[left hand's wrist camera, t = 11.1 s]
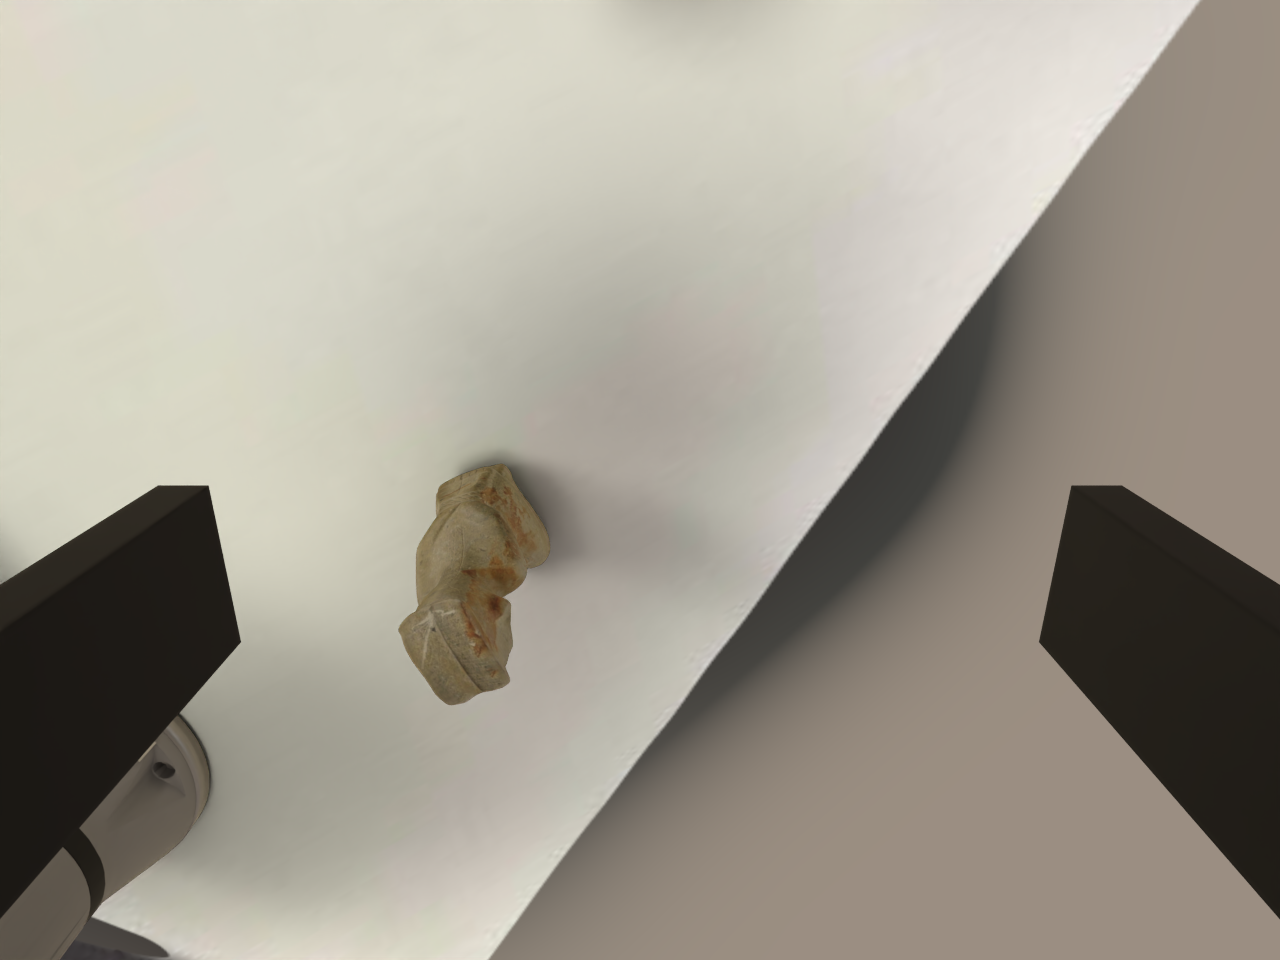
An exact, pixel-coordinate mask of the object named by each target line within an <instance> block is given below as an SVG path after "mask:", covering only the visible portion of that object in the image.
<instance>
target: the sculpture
mask: <svg viewBox="0 0 1280 960" xmlns="http://www.w3.org/2000/svg"><path fill="white" fill-rule="evenodd" d="M436 515H437V518H436V519H435V520H434V521H433V523H432V524H431V526H430V528H429V529H428V531H427V532H426V534H425V535H424V537H423V539H422V540H421V542H420V543H419V546H418V548H417V553H416V589H417V600H418V604H419V606H418V608H417V610H416V612H414V613H412V614H410V615H409V616H408V617H407V618H406V619H405V620H404V621H403V622H402V624H401V625H400V627H399V633H400V634H401V637H402V640H403V644H404V646H405V649H406V651H407V653H408V655H409V656H410V658H411V660H412V662H413V663H414V664H415V666H416V667H417V668H418V670H419V671H420V672H421V674H422V675H423V676H424V678H425V679H426V680H427V682H428V684H429V685H430V687H431V688H432V690H433V691H434V693H435V694H436V695H437V696H438V697H439V698H440V699H441V700H442V701H443V702H445V703H446V704H448V705H456V704H461V703H465V702H467V701H468V700H470V699H471V698H473V697H474V696H475V695H477V694H479V693H482V692H487V691H492V690H496V689H499V688H502V687H504V686H505V685H507V684H508V683H509V682H510V677H509V675H508V673H507V670H506V667H505V666H506V664H507V661H508V657H509V653H510V651H511V649H512V647H513V639H512V633H511V625H510V622H511V604H510V602H509V601H508V600H506V599H504V598H502V597H504V596H506V595H507V594H509V593H511V592H512V591H514V590H515V589H517V588H518V587H519V586H520V585H521V584H522V583H523V581H524V580H525V577H526V574H527V568H533V567H536V566H539V565H541V564H542V563H544V561H545V560H546V559H547V557H548V555H549V552H550V542H549V537H548V534H547V531H546V529H545V527H544V525H543V523H542V522H541V520H540V518H539V517H538V515H537V514H536V512H535V511H534V509H533V508H532V507H531V505H530V504H529V502H528V501H527V500H526V498H525V497H524V496H523V494H522V493H521V492H520V490H519V489H518V487H517V486H516V484H515V482H514V480H513V478H512V474H511V472H510V470H509V469H508V468H507V467H506V466H505V465H504V464H497V465H493V466H490V467H482V468H479V469H476V470H473V471H470V472H467V473H464V474H462V475H459V476H457V477H455V478H453V479H451V480H449V481H447V482H445V483H444V484H442V485H441V486H440V487H439V489H438V493H437V495H436Z"/></svg>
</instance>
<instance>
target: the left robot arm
mask: <svg viewBox="0 0 1280 960" xmlns="http://www.w3.org/2000/svg"><path fill="white" fill-rule="evenodd" d="M1039 642H1040V644H1041V645H1042V646H1043V647H1044V648H1045V649H1046V651H1047V652H1048V653H1049V654H1050V655H1051V656H1052V657H1053V659H1054V660H1055V661H1056V662H1057V663H1058V664H1059V666H1060V667H1061V668H1062V669H1063V670H1064V671H1065V672H1066V674H1067V675H1068V676H1069V677H1070V678H1071V679H1072V681H1073V682H1074V683H1075V684H1076V685H1077V686H1078V687H1079V689H1080V690H1081V691H1082V692H1083V693H1084V694H1085V695H1086V697H1087V698H1088V699H1089V700H1090V701H1091V702H1092V704H1093V705H1094V706H1095V707H1096V708H1097V709H1098V710H1099V712H1100V713H1101V714H1102V715H1103V716H1104V717H1105V718H1106V720H1107V721H1108V722H1109V723H1110V724H1111V725H1112V726H1113V728H1114V729H1115V730H1116V731H1117V732H1118V733H1119V735H1120V736H1121V737H1122V738H1123V739H1124V740H1125V742H1126V743H1127V744H1128V745H1129V746H1130V747H1131V748H1132V750H1133V751H1134V752H1135V753H1136V754H1137V755H1138V756H1139V758H1140V759H1141V760H1142V761H1143V762H1144V763H1145V765H1146V766H1147V767H1148V768H1149V769H1150V770H1151V771H1152V773H1153V774H1154V775H1155V776H1156V777H1157V778H1158V779H1159V781H1160V782H1161V783H1162V784H1163V785H1164V786H1165V787H1166V789H1167V790H1168V791H1169V792H1170V793H1171V794H1172V796H1173V797H1174V798H1175V799H1176V800H1177V801H1178V802H1179V804H1180V805H1181V806H1182V807H1183V808H1184V809H1185V811H1186V812H1187V813H1188V814H1189V815H1190V816H1191V817H1192V819H1193V820H1194V821H1195V822H1196V823H1197V824H1198V825H1199V827H1200V828H1201V829H1202V830H1203V831H1204V832H1205V834H1206V835H1207V836H1208V837H1209V838H1210V839H1211V840H1212V842H1213V843H1214V844H1215V845H1216V846H1217V847H1218V848H1219V850H1220V851H1221V852H1222V853H1223V854H1224V855H1225V857H1226V858H1227V859H1228V860H1229V861H1230V862H1231V863H1232V865H1233V866H1234V867H1235V868H1236V869H1237V870H1238V872H1239V873H1240V874H1241V875H1242V876H1243V877H1244V878H1245V880H1246V881H1247V882H1248V883H1249V884H1250V885H1251V886H1252V888H1253V889H1254V890H1255V891H1256V892H1257V893H1258V895H1259V896H1260V897H1261V898H1262V899H1263V900H1264V901H1265V903H1266V904H1267V905H1268V906H1269V907H1270V908H1271V910H1272V911H1273V912H1274V913H1275V914H1276V915H1277V916H1278V918H1279V919H1280V585H1279V584H1278V583H1276V582H1274V581H1273V580H1271V579H1270V578H1268V577H1266V576H1265V575H1263V574H1262V573H1260V572H1259V571H1257V570H1255V569H1254V568H1252V567H1251V566H1249V565H1247V564H1246V563H1244V562H1243V561H1241V560H1239V559H1238V558H1236V557H1235V556H1233V555H1231V554H1230V553H1228V552H1227V551H1225V550H1224V549H1222V548H1220V547H1219V546H1217V545H1216V544H1214V543H1212V542H1211V541H1209V540H1208V539H1206V538H1204V537H1203V536H1201V535H1200V534H1198V533H1196V532H1195V531H1193V530H1192V529H1190V528H1189V527H1187V526H1185V525H1184V524H1182V523H1181V522H1179V521H1177V520H1176V519H1174V518H1173V517H1171V516H1169V515H1168V514H1166V513H1165V512H1163V511H1161V510H1160V509H1158V508H1157V507H1155V506H1154V505H1152V504H1150V503H1149V502H1147V501H1146V500H1144V499H1142V498H1141V497H1139V496H1138V495H1136V494H1134V493H1133V492H1131V491H1130V490H1128V489H1126V488H1125V487H1123V486H1071V490H1070V495H1069V500H1068V505H1067V510H1066V515H1065V519H1064V524H1063V529H1062V534H1061V539H1060V544H1059V548H1058V553H1057V558H1056V563H1055V568H1054V572H1053V577H1052V582H1051V587H1050V592H1049V597H1048V601H1047V606H1046V611H1045V616H1044V621H1043V626H1042V631H1041V635H1040V640H1039ZM240 643H241V640H240V635H239V630H238V626H237V621H236V616H235V611H234V606H233V601H232V597H231V592H230V587H229V582H228V577H227V572H226V568H225V563H224V558H223V553H222V548H221V544H220V539H219V534H218V529H217V524H216V519H215V515H214V510H213V505H212V500H211V495H210V490H209V486H157V487H155V488H154V489H152V490H150V491H149V492H147V493H146V494H144V495H142V496H141V497H139V498H138V499H136V500H134V501H133V502H131V503H130V504H128V505H126V506H125V507H123V508H122V509H120V510H119V511H117V512H115V513H114V514H112V515H111V516H109V517H107V518H106V519H104V520H103V521H101V522H99V523H98V524H96V525H95V526H93V527H91V528H90V529H88V530H87V531H85V532H84V533H82V534H80V535H79V536H77V537H76V538H74V539H72V540H71V541H69V542H68V543H66V544H64V545H63V546H61V547H60V548H58V549H56V550H55V551H53V552H52V553H50V554H49V555H47V556H45V557H44V558H42V559H41V560H39V561H37V562H36V563H34V564H33V565H31V566H29V567H28V568H26V569H25V570H23V571H21V572H20V573H18V574H17V575H15V576H14V577H12V578H10V579H9V580H7V581H6V582H4V583H2V584H1V585H0V960H60V959H61V957H62V956H63V954H64V953H65V952H66V950H67V949H68V948H69V946H70V945H71V944H72V942H73V941H74V940H75V938H76V937H77V935H78V934H79V933H80V931H81V930H82V928H83V927H84V926H85V924H86V923H87V922H88V920H89V919H90V918H91V916H92V915H93V914H94V912H95V911H96V910H97V908H98V907H99V906H100V905H101V903H102V902H103V901H105V900H106V899H107V898H109V897H110V896H111V895H113V894H114V893H116V892H117V891H118V890H120V889H121V888H122V887H124V886H125V885H126V884H128V883H129V882H130V881H132V880H133V879H134V878H136V877H137V876H138V875H140V874H141V873H142V872H144V871H145V870H146V869H148V868H149V867H150V866H152V865H153V864H154V863H156V862H157V861H158V860H160V859H161V858H162V857H164V856H165V855H166V854H167V853H169V852H170V851H171V850H172V849H173V848H174V847H176V846H177V845H178V844H179V843H180V842H181V841H182V840H183V838H184V837H185V836H186V835H187V833H188V832H189V830H190V829H191V827H192V826H193V825H194V823H195V822H196V820H197V819H198V817H199V816H200V814H201V813H202V811H203V809H204V807H205V804H206V802H207V798H208V794H209V786H210V781H209V770H208V765H207V761H206V758H205V755H204V753H203V750H202V748H201V746H200V744H199V742H198V741H197V739H196V738H195V736H194V734H193V733H192V732H191V730H190V729H189V728H188V726H187V725H186V724H185V723H184V722H183V721H182V720H181V718H180V717H179V716H178V714H179V713H180V712H181V710H182V709H183V708H184V707H185V706H186V705H187V704H188V702H189V701H190V700H191V699H192V698H193V697H194V695H195V694H196V693H197V692H198V691H199V690H200V689H201V687H202V686H203V685H204V684H205V683H206V682H207V681H208V679H209V678H210V677H211V676H212V675H213V674H214V672H215V671H216V670H217V669H218V668H219V667H220V666H221V664H222V663H223V662H224V661H225V660H226V659H227V657H228V656H229V655H230V654H231V653H232V652H233V651H234V649H235V648H236V647H237V646H238V645H239V644H240Z"/></svg>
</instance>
